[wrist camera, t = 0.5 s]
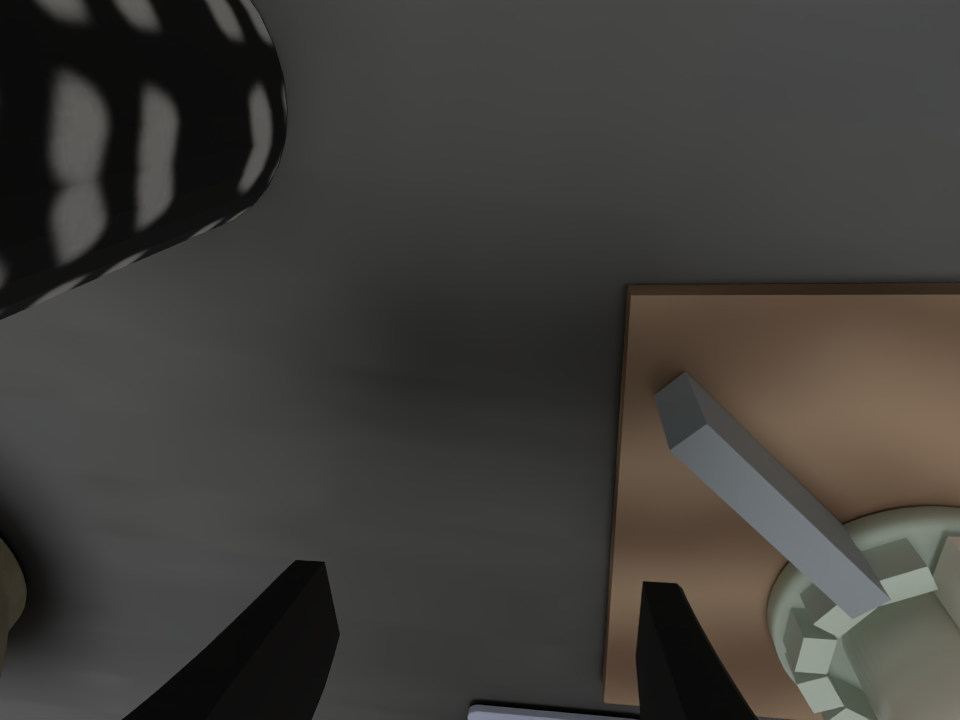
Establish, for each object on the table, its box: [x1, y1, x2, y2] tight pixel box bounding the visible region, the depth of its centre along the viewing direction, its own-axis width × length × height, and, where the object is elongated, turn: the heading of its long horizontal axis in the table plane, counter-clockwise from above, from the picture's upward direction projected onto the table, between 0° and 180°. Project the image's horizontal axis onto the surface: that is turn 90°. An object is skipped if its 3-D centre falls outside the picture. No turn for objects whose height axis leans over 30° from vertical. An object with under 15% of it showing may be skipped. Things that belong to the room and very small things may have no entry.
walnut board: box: [602, 283, 960, 720], centre depth 20 cm, size 18×20×1 cm
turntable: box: [654, 372, 960, 720], centre depth 18 cm, size 14×14×3 cm
